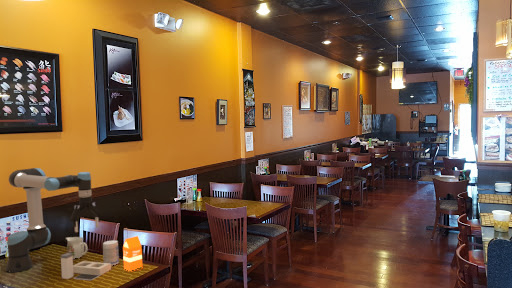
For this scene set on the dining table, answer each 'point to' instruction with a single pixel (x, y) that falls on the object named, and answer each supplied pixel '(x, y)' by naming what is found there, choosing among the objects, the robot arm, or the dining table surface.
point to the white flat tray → (91, 268)
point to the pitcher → (76, 246)
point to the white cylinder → (67, 265)
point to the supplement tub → (111, 252)
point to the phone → (86, 277)
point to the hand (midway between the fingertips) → (86, 229)
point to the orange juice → (132, 253)
